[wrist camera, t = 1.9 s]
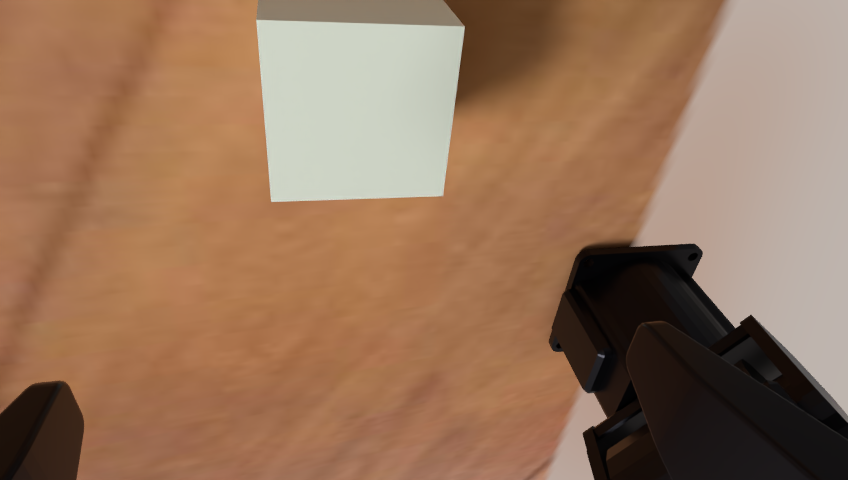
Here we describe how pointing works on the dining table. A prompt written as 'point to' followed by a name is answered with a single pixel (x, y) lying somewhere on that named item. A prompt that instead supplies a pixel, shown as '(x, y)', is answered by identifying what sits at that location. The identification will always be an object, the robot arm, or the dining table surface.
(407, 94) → the sage cube
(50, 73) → the dining table surface
